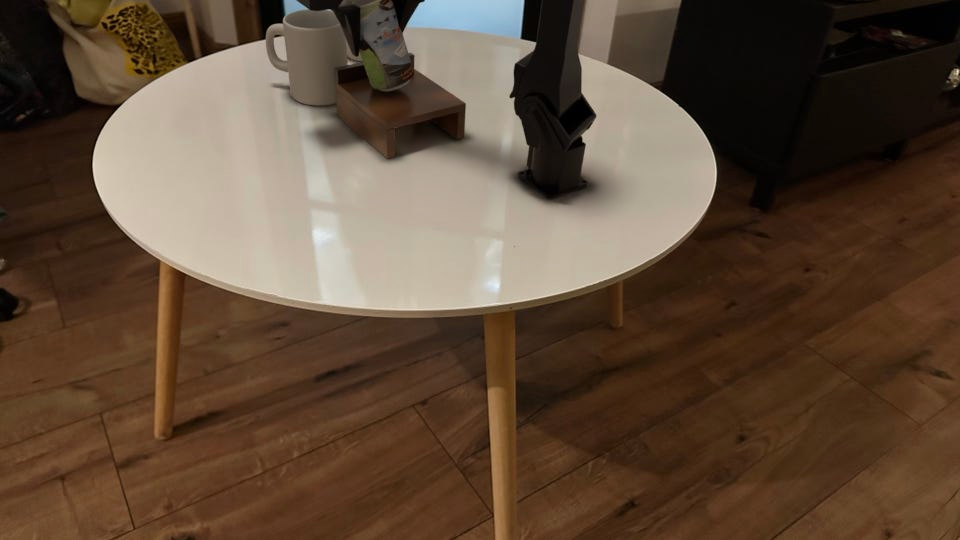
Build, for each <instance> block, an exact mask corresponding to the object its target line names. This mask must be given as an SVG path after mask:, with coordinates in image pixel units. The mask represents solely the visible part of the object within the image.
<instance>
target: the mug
mask: <svg viewBox="0 0 960 540" xmlns="http://www.w3.org/2000/svg"><path fill="white" fill-rule="evenodd" d="M275 36H282V37H283V38H284V43H285V44H284V45H285V46H284V47H285V53H286V60H283V59H282V58H280V57H279V56H278V54H277V52H276V48H275ZM265 48H266V54H267V57H268V60H269V62H270V64H271V65H272V66H273V67H274V68H275V69H276V70H279V71H281V72H285V73H288V81H289V91H290V95H291V97H292V98H293V100H294V101H296V102H298V103H301V104H303V105H308V106H331V105H335V104H337V102H336V87H335V74H334V68H336V67H341V66H346V65H349V61H348V55H347V44H346V38H345V35H344V33H343V30H342V28H341V25H340V23H339V21H338V19H337V17H336V16H335V14H334V12H333V11H331V10H330V9H329V10H322V11H311V10H309V9H308V8H306V9H299V10H295V11H291V12H289V13H287V14H286V15H284V17H283V19H282V23H274V24H271V25H270V26H269V27H268V28H267V30H266V33H265Z"/></svg>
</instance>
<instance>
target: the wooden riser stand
mask: <svg viewBox="0 0 960 540" xmlns="http://www.w3.org/2000/svg"><path fill="white" fill-rule="evenodd" d="M408 53H409V57H410V60H411V63H412V66H413V70H414V75H413V77H412V78H411V79H410V81H409V83H408V84H406V85H405V86H403V87H401V88H399V89H396V90H393V91H380V90H379V89H375V88H373V87H372V86H371V84H370V81H369V78H368V75H367V72H366V70H365V67H364V64H363V61H360V62H356V63H351V64H348V65H346V66H341V67H336V68H334V74H335V87H336V102H337V103H336V112H337V117H338V118H339V119H341V121H343V122H344V123H345V124H346V125H348V126H349V127H350V128H351V129H352V130H353V131H354V132H356V133H357V134H358V135H359V136H360V137H361V138H363V140H365V141H366V142H367V143H369V145H371V146H372V147H373V148H374V149H375V150H377V151H378V152H379V153H380V154H381V155H382V156H383V157H384V158H386V159H392V158H395V157H396V129H398V128H401V127H406V126H409V125H414V124H417V123H421V122H425V121H429V120H430V121H431V122H433V123H434V124H436V125H437V126H438V127H440V128H441V129H442V130H443V131H445V132H446V133H448V134H449V135H451V136H452V137H453V138H454V139H456V140H460V139H463V138H465V132H466V131H465V130H466V110H467V103H466V102H465V101H463V100H462V99H461V98H459V97H458V96H456V95H454V94H453V93H451V92H449V90H447V89H446V88H445V87H442V86H441V85H439V84H438V83H437V82H435V81H433V80H432V79H431V78H429V77H427V76H426V75H425V74H423V73H421V72H420V71H419V70H417V69H415V54H413V53H412V52H408Z"/></svg>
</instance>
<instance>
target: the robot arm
mask: <svg viewBox="0 0 960 540" xmlns="http://www.w3.org/2000/svg"><path fill="white" fill-rule="evenodd" d="M295 1H296V2H298V3H299V4H301V5H302V6H303V7H305V8H306V9H309V10H311V11H322V10H329V11H333V12H334V14H335V16H336V17H337V19H338V21H339V23H340V25H341V28H342V30H343V33H344V35H345V38H346V40H347V43H348V45H349V48H350V50H351V52H352V54H353V55H354V56H355V57H358V56H359V50H360V10H361V9H360V7H358V6H357V5H355V4H354V1H353V0H295ZM425 1H426V0H392V2H393V4H394V7H395V10H396V14H397V18H398V24H399V28H400V30H401V32H402V34H403V35H404V31H405V29H406V27H407V26H408V23H409V21H410V20H411V18H412V17H413V15H414V13H415V11H417V8H418V7H419V5H420V4H421V3H424V2H425ZM585 1H586V0H541V2H540V3H541V4H540V9H539V10H540V11H539V18H538V26H537V33H536V41H535V46H534V49H533V50H532V51H530V52H529V53H528V54H526V55H525V56H524V57H522V58H520V59H519V60H518V61H516V62H515V63H514V66H513V87H512V90H511V92H510V93H509V95H508V98H509V99H514V101H513V109H514V113H515V116H516V117H518V118H519V120H520V121H521V122H520V123H521V125H522V129H523V134H524V138H525V142H526V143H525V144H526V145H527V146H528V153H527V161H526V167H527V168H526V169H523V170H520V171H518V172H517V177H518V178H519V179H520V180H522V181H523V182H525V183H526V184H527V185H529V186H530V187H531V188H533V189H534V190H536V191H537V192H538V193H540V194H541V195H542V196H543V197H545V198H547V199H549V200H552V199H556V198H558V197H560V196H564V195H567V194H569V193H573V192H575V191H578V190H580V189H584V188H586V187H588V185H589V181H588V180H587V179H585V178H584V177H583V176H581V175H582V169H583V163H584V157H585V152H586V147H587V144H586V142H584V141H583V140H584V139H583V135H584V134H585V133H586V131H588V130H589V129H591V127H592V125H593V124H594V122H595V121H596V118H597V113H596V112H595V111H594V109H593V107H592V106H591V104H590V103H589V101H588V100H587V98H586V97H585V95H584V94H583V92H582V88H583V87H582V85H583V84H582V81H583V80H582V76H583V73H582V72H583V68H582V64H581V60H580V55H579V52H578V40H579V35H580V29H581V22H582V19H583V13H584V7H585Z"/></svg>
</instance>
